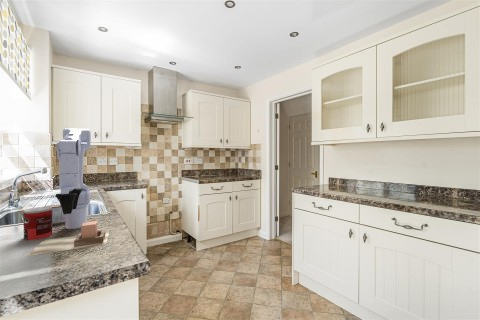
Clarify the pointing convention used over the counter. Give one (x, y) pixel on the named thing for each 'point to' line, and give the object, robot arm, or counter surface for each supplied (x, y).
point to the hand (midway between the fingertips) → (70, 211)
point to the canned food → (37, 223)
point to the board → (70, 243)
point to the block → (89, 229)
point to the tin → (57, 214)
